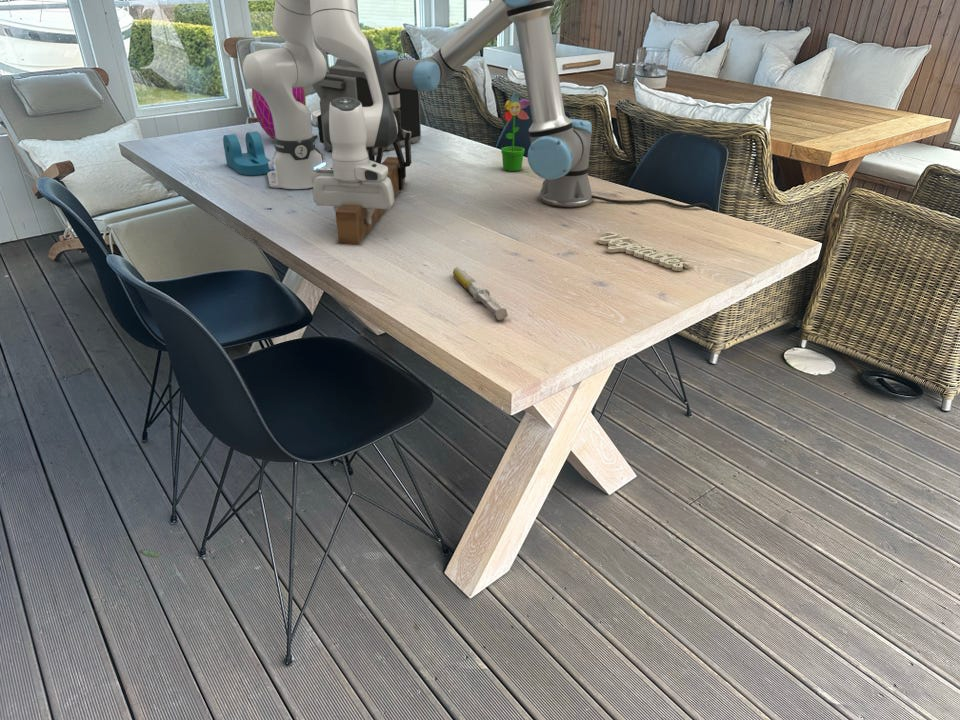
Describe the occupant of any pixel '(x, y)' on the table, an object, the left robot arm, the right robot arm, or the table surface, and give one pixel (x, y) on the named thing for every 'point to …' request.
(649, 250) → the decorative sign
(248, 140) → the camera mount
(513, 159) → the potted flower
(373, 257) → the table surface
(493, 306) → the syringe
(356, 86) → the grey black box
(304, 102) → the decorative egg
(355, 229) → the bar
